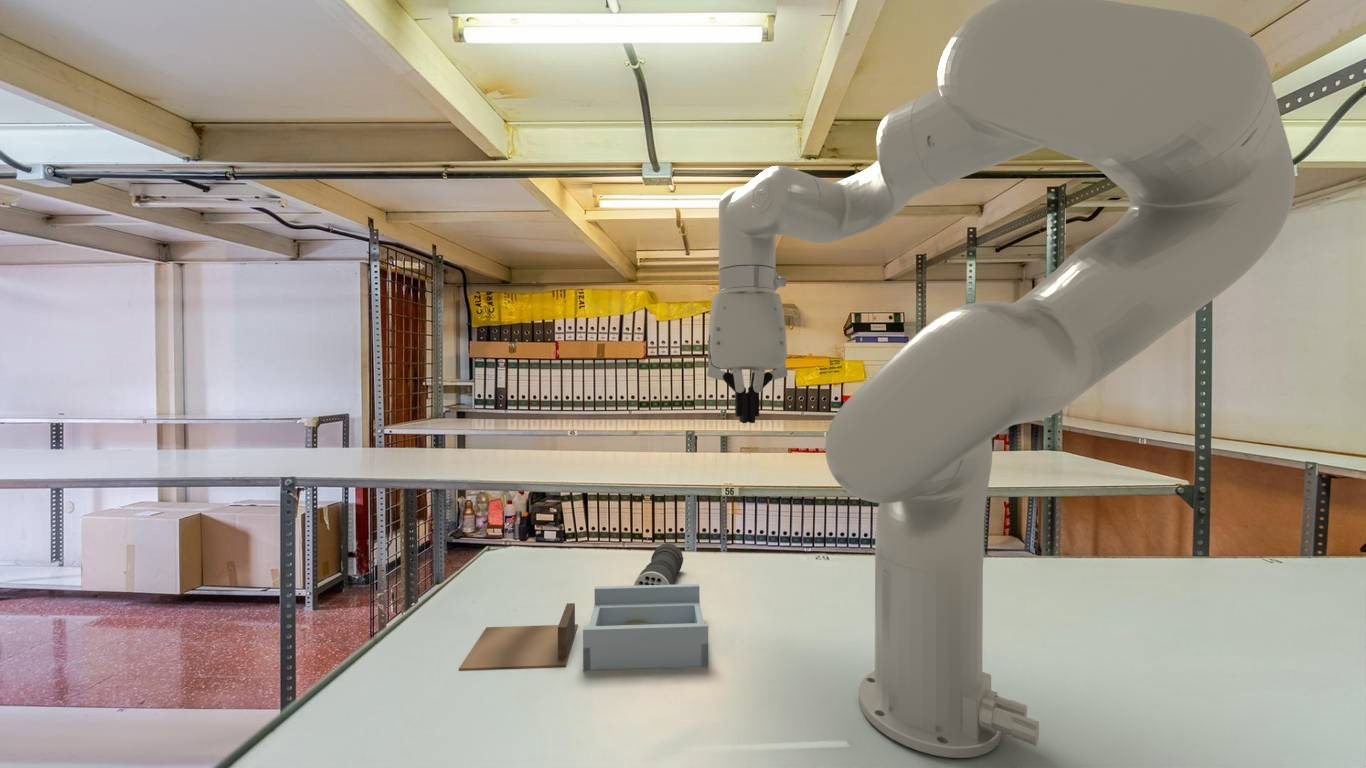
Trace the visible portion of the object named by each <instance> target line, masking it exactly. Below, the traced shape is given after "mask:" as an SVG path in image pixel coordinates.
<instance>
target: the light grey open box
mask: <svg viewBox="0 0 1366 768" xmlns="http://www.w3.org/2000/svg"><path fill="white" fill-rule="evenodd" d="M631 621H643V622H647V623H649V624H650V625H622V624H624V623H627V622H631ZM582 648H583V649H582V662H583V663H582V667H583V668H582V669H583V670H582V671H612V670H613V671H614V670H617V671H618V670H640V669H641V670H642V669H643V670H645V669H647V670H648V669H674V668H675V669H676V668H698V667H699V668H700V667H701V668H704V667H705V668H706V667H709V625H708V622H705V621H704V616H703V612H702V606H701V602H700V584H699V583H684V584H674V585H659V584H657V585H638V586H634V585H605V586H604V585H603V586H602V585H601V586H595V587H594V605H593V609H592V611H591V616H590V619H589V623H588V626H587V625H586V626H583V629H582Z"/></svg>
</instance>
